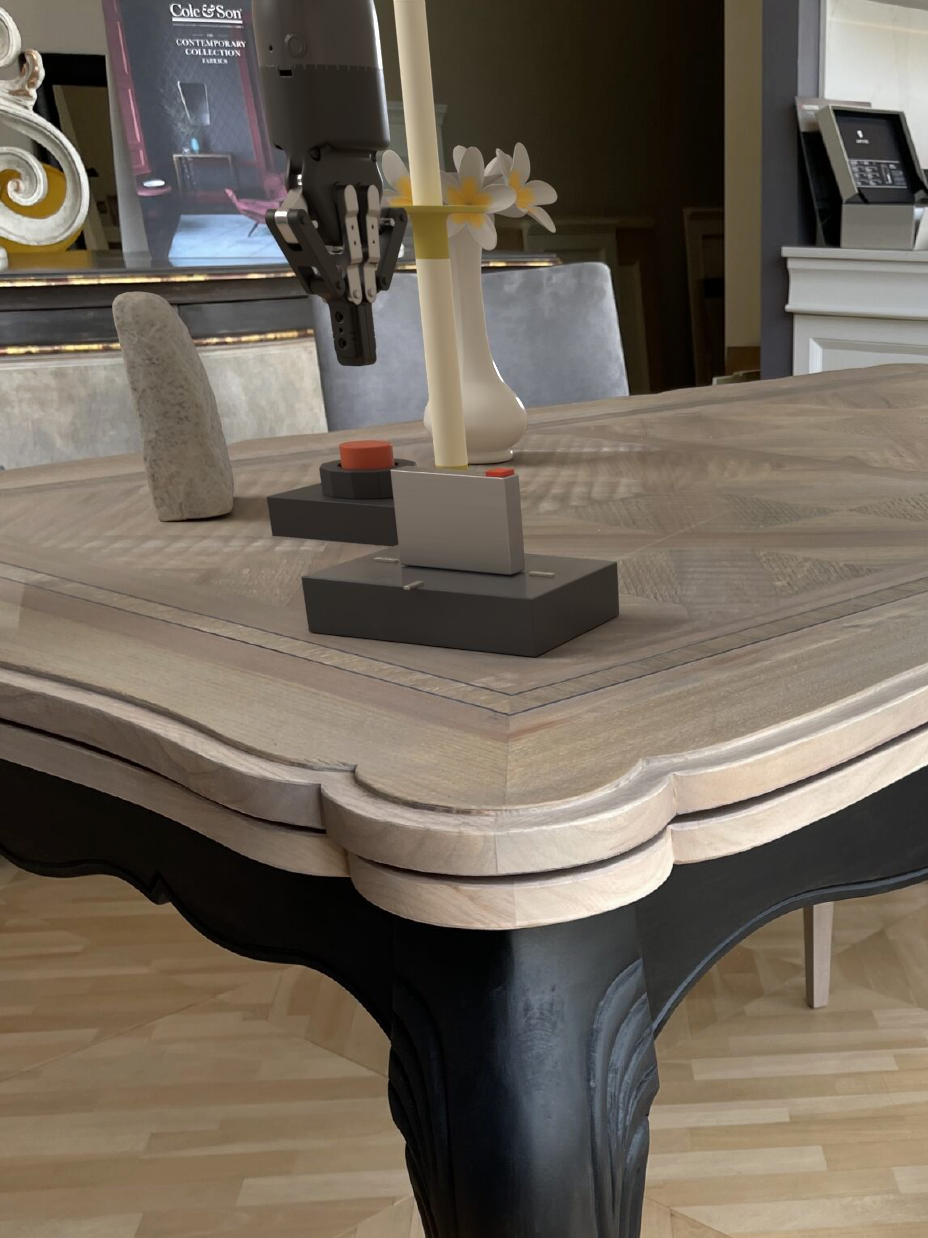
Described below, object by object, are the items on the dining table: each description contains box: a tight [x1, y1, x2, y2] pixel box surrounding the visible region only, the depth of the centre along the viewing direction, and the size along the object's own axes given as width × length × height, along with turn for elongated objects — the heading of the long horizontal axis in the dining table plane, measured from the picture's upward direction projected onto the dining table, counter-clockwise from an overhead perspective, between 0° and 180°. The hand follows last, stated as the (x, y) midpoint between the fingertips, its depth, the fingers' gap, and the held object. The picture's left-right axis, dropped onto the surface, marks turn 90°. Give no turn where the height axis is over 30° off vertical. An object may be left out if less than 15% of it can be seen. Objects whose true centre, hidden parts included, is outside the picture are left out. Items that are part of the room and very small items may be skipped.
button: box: [338, 439, 395, 469], centre depth 106 cm, size 4×4×2 cm
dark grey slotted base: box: [300, 545, 620, 658], centre depth 84 cm, size 14×11×3 cm
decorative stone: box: [111, 291, 235, 523], centre depth 111 cm, size 11×6×15 cm, turn 9°
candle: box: [391, 0, 487, 470], centre depth 111 cm, size 10×10×38 cm
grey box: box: [391, 465, 525, 575], centre depth 82 cm, size 7×2×5 cm, turn 69°
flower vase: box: [381, 141, 558, 465], centre depth 132 cm, size 13×18×25 cm
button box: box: [266, 457, 417, 547], centre depth 107 cm, size 11×9×4 cm
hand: (357, 364), depth 103 cm, fingers closed
